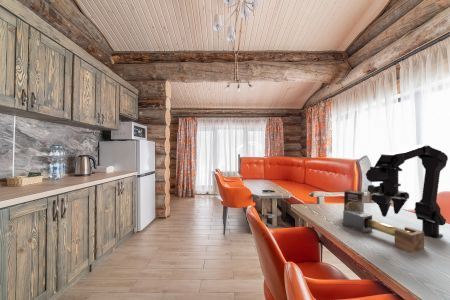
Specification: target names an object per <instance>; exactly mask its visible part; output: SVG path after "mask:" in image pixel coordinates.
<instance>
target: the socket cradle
mask: <svg viewBox="0 0 450 300" xmlns="http://www.w3.org/2000/svg"><path fill="white" fill-rule="evenodd" d="M403 230H406V231H410V232H412V233H407V232H404V231H401V230H398V229H397V230H395V237H394V247H396V248H399V249H401V250H403V251H406V252H409V253H412V254H413V253H415V252H418V251H421V250H423V249H425V235H424V232H423V231H422V230H420V229H416V228H413V227H408V226H405V227H404V228H403Z"/></svg>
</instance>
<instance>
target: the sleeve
mask: <svg viewBox="0 0 450 300" xmlns="http://www.w3.org/2000/svg"><path fill="white" fill-rule="evenodd" d="M342 213H343V214H342V215H343V216H342V217H343V219H342V220H343V221H342V222H343V223H342V225H343V226H344V227H346V228H349V229H352V230H354V231H357V232H360V233H363V234H365V233H369V232H372V231H373V229H371V228H369V227H366V226H365V219H366V218H367V219H370V220H373V214H369V213H366V212H364V213H363V212H359V211H356V210H353V209H350V210H345V211H344V210H343V211H342Z"/></svg>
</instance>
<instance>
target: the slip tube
mask: <svg viewBox="0 0 450 300" xmlns="http://www.w3.org/2000/svg"><path fill="white" fill-rule="evenodd" d="M365 226H366V227H369V228H371V229H372V230H374V231H377V232H381V233H384V234H385V235H389V236H392V237H394V238H395V230H397V229H398V230H401V231H404V232H407V233H412V232H410V231H406V230H404V229H402V228H399V227H396V226H392V225H390V224H386V223H383V222H380V221H376V220H374V219H372V220H370V219H367V218H366V219H365Z"/></svg>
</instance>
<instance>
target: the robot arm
mask: <svg viewBox="0 0 450 300" xmlns="http://www.w3.org/2000/svg"><path fill="white" fill-rule="evenodd" d="M413 158H419V159H420V160H421V165H422V166H423V168H424V170H425V171H424V180H423V185H422V186H423V187H422V195H421V199H420V200H419V201H416V202H415V204H414V213H415V216H416V218H417V220H420V221H422V223H421V225H422V226H421V227H422V229H421V231H423V232H424V236H428V237H431V238H434V239H438V238H441V237H443V236H444V234H442V233H440V226H444V225H446V222H447V220H446V218H445V217H444V216H443V214H441V206H440V205H439V204H438V202H437V201H438V200H437V198H438V192H439V182H440V174H441V171H443V170H444V168H445V167H446V165H447V162H448V160H449V157H448V155H447V154H446V153H445V152H443V151H442V150H439V149H436V148H433V147H432V146H430V145H428V144H416V145H414V146H413V147H412V146H411V147H409V148H406V149H403V150H400V151H397V152H385V153H381V154H380V157H379V158H378V160H377V161H376V162H375V164H374V166H369V169H368V170H367V171H366V173H365V178H366V179H367V181H368V182H370V183H378V182H379V185H376V186H375V185H374V184H370V185H367V192H368V193H370V195H371V196H370V200H371V201H373V203H375V204H377V205H378V208H379V210H380V212H381V216H382V217H383V218H385V217H387V216H388V213H389V210H390V207H391V204H392V205H393V206H392V207H393V212H394V214H395V215H398V214H399V212H400V211H401V210H402V208H403V207H404V205H405V203H406V202H407V201H408V199H410V193H408V192H407V191H403V190H399V187H401V185H402V184H401V183H399V172H403V169H402V168H401V167H400V166H401V165H403V164H405V161H408V160H410V159H413ZM391 201H392V202H391Z"/></svg>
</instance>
